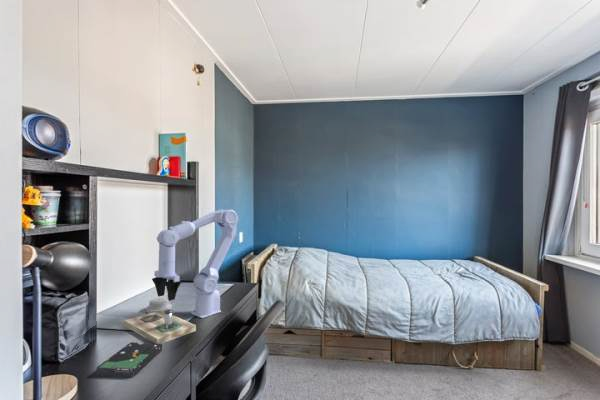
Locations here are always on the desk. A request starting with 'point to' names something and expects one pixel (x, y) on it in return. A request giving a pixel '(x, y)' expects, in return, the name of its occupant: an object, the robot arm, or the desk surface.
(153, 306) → the mechanical component
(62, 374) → the desk surface
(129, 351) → the disk drive
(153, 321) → the dock board
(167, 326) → the steel pin
